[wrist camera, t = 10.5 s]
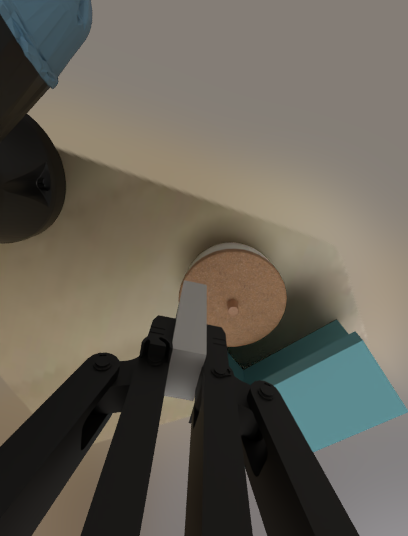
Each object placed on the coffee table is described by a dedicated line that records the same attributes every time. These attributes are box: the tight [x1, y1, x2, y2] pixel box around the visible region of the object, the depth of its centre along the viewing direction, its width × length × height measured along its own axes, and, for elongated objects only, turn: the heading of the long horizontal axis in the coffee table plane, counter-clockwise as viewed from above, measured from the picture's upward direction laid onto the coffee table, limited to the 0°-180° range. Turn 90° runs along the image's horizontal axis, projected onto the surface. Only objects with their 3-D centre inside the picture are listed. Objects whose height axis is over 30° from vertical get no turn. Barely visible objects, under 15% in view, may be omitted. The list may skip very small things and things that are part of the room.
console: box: [228, 320, 408, 452], centre depth 30 cm, size 9×16×14 cm, turn 127°
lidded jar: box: [179, 242, 287, 347], centre depth 30 cm, size 11×11×9 cm
